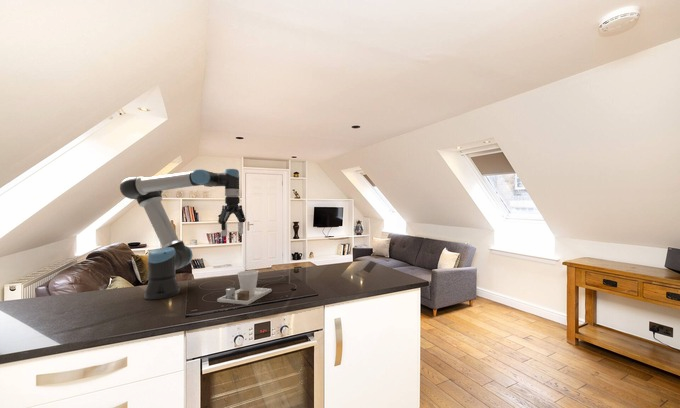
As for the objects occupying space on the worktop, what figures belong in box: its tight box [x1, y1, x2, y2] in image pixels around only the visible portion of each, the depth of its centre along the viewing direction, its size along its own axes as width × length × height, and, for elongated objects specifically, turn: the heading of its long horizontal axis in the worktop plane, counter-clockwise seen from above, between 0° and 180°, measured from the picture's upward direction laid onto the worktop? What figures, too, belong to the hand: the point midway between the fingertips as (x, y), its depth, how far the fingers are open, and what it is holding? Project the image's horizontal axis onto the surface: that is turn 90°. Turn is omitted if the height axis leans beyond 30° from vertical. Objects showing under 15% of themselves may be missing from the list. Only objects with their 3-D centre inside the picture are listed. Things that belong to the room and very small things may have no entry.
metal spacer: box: [225, 287, 236, 300], centre depth 131 cm, size 4×4×5 cm
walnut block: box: [237, 291, 249, 301], centre depth 129 cm, size 4×4×4 cm
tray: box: [216, 287, 273, 306], centre depth 135 cm, size 16×20×2 cm
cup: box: [236, 269, 259, 297], centre depth 137 cm, size 10×10×11 cm
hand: (232, 234), depth 158 cm, fingers open, 13 cm apart
